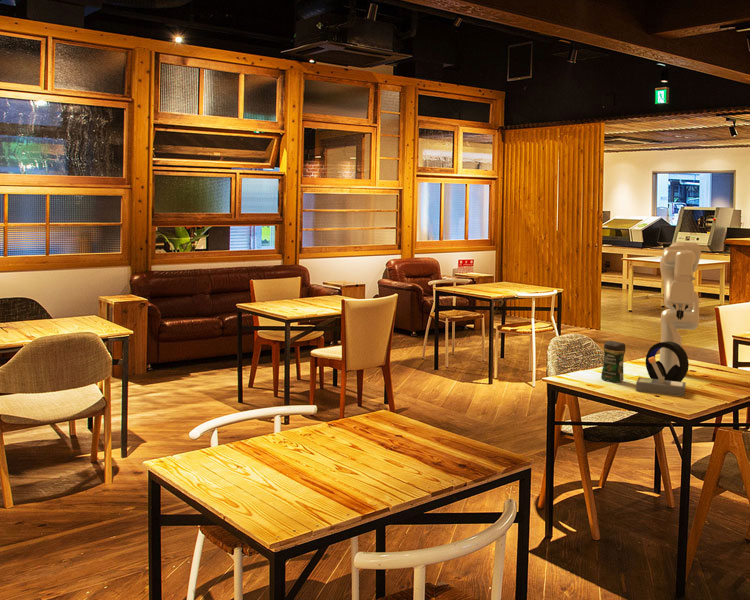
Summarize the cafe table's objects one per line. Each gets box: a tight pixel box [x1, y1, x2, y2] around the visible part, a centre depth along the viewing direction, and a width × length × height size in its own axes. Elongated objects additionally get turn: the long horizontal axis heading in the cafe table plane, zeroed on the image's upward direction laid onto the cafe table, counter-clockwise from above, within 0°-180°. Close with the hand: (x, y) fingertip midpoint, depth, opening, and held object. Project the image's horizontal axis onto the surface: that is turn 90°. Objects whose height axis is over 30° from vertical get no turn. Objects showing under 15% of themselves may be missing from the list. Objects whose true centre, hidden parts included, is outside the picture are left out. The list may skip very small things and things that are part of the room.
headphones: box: [645, 341, 690, 382], centre depth 356 cm, size 19×7×20 cm, turn 38°
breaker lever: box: [648, 356, 663, 378], centre depth 344 cm, size 3×2×12 cm
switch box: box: [635, 376, 687, 398], centre depth 344 cm, size 11×20×6 cm, turn 66°
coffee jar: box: [600, 340, 627, 383], centre depth 361 cm, size 10×8×19 cm
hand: (679, 319), depth 351 cm, fingers closed
